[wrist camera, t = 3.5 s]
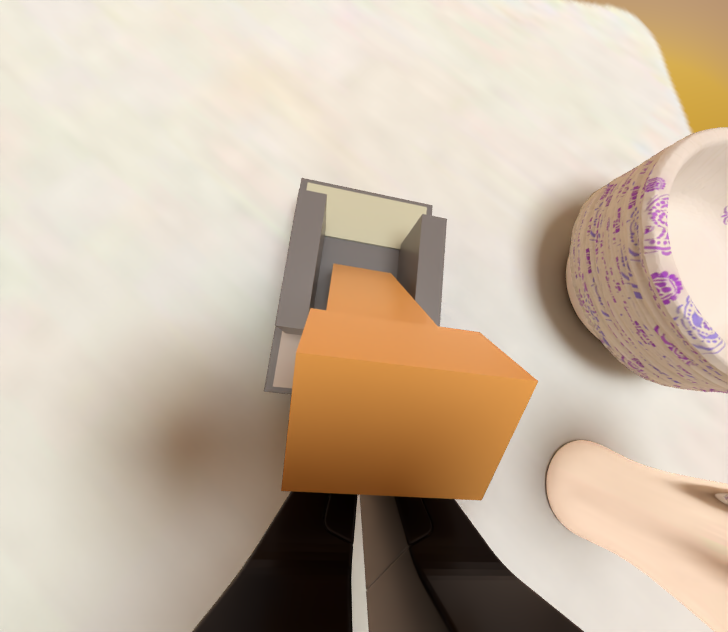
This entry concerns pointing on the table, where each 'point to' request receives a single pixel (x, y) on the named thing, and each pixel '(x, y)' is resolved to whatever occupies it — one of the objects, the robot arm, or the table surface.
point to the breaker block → (352, 258)
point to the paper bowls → (660, 265)
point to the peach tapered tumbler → (648, 522)
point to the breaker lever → (396, 398)
